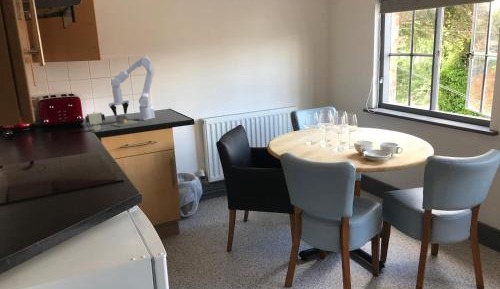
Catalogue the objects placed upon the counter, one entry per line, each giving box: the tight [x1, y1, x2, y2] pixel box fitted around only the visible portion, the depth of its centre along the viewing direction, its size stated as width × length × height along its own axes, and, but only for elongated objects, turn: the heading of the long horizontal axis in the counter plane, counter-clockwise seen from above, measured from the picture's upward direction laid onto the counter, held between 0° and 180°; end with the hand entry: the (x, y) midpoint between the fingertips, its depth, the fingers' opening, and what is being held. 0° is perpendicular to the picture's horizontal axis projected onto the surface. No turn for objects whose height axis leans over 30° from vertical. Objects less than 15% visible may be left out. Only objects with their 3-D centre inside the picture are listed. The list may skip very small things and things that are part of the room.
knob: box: [115, 114, 128, 123], centre depth 290 cm, size 5×5×5 cm
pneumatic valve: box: [84, 111, 106, 132], centre depth 267 cm, size 6×12×12 cm, turn 116°
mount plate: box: [111, 118, 140, 128], centre depth 281 cm, size 14×12×4 cm
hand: (120, 114), depth 289 cm, fingers open, 7 cm apart
